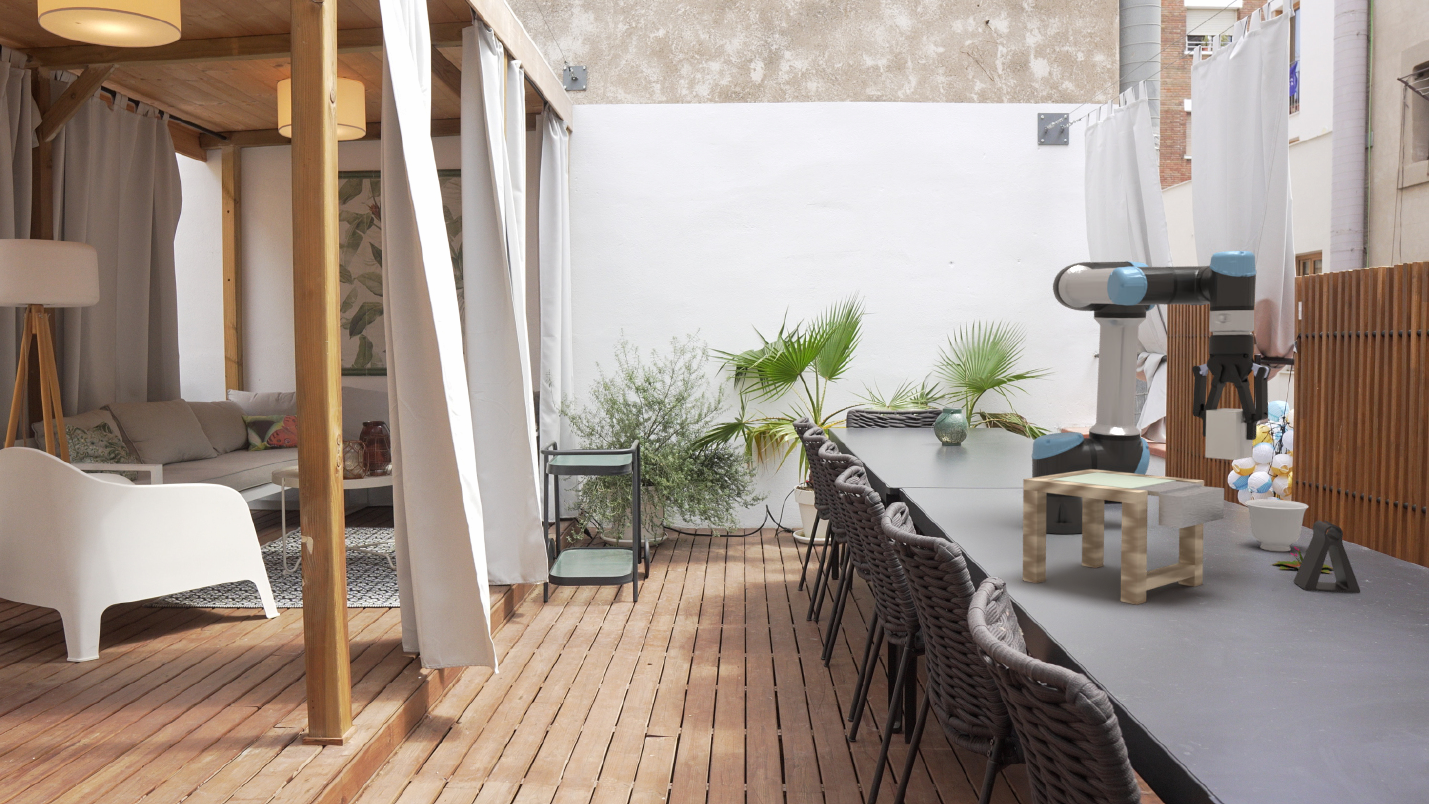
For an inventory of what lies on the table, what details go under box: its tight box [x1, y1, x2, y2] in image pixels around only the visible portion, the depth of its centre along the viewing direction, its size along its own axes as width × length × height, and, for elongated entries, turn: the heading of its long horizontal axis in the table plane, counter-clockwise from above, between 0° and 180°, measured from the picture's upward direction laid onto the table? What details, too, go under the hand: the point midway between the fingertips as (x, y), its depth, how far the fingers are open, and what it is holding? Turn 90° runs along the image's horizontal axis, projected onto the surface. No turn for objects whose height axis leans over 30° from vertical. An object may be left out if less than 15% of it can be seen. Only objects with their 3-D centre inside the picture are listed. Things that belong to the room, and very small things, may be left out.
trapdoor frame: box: [1022, 469, 1205, 606], centre depth 184 cm, size 23×23×20 cm
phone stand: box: [1293, 519, 1361, 594], centre depth 178 cm, size 9×6×12 cm, turn 76°
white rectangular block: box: [1204, 407, 1254, 461], centre depth 186 cm, size 6×7×9 cm
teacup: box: [1244, 498, 1309, 553], centre depth 214 cm, size 12×15×10 cm
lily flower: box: [1271, 546, 1333, 574], centre depth 195 cm, size 12×12×5 cm
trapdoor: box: [1050, 472, 1225, 529], centre depth 180 cm, size 25×16×6 cm, turn 37°
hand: (1228, 455), depth 186 cm, fingers closed on white rectangular block, 5 cm apart
